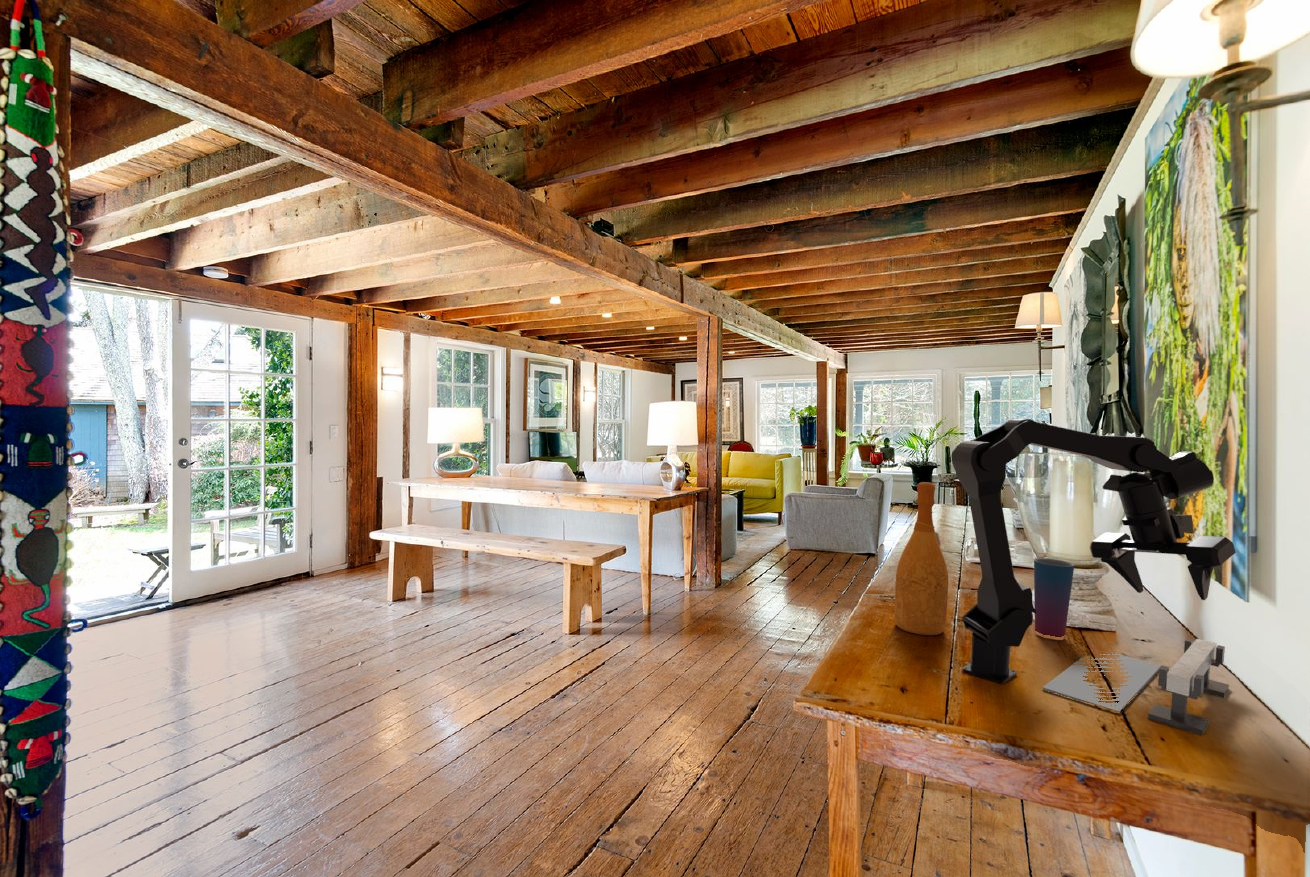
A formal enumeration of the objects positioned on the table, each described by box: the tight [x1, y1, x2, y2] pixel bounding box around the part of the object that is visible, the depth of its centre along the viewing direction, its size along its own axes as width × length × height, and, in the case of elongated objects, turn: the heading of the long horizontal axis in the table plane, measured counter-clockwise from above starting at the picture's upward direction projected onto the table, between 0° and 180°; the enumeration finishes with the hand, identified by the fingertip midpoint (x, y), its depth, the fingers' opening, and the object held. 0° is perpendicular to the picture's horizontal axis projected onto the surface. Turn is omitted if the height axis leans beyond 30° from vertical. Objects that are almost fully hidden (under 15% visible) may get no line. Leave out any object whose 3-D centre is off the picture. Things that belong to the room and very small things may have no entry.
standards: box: [1147, 637, 1230, 736], centre depth 95 cm, size 24×6×7 cm, turn 131°
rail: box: [1166, 638, 1218, 696], centre depth 95 cm, size 23×2×2 cm, turn 131°
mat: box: [1042, 652, 1162, 712], centre depth 104 cm, size 28×10×1 cm, turn 131°
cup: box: [1033, 557, 1075, 637], centre depth 124 cm, size 7×7×15 cm
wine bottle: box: [894, 481, 949, 636], centre depth 125 cm, size 10×10×30 cm
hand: (1171, 595), depth 104 cm, fingers open, 9 cm apart
